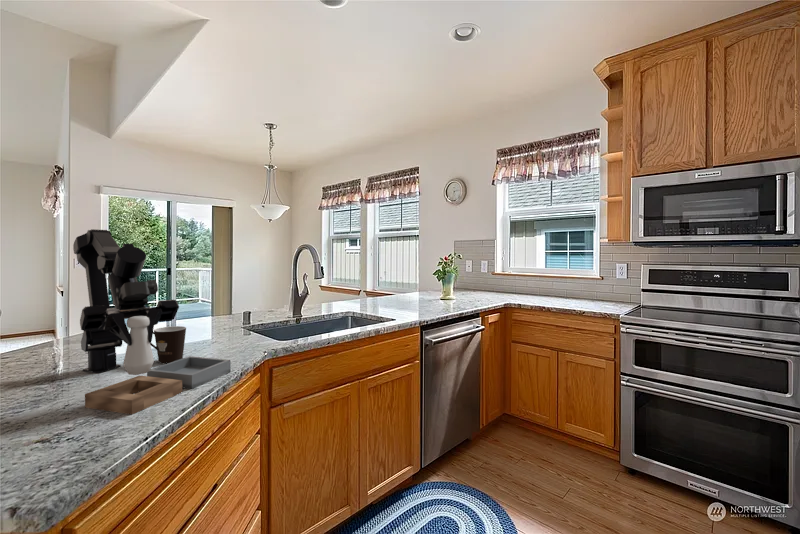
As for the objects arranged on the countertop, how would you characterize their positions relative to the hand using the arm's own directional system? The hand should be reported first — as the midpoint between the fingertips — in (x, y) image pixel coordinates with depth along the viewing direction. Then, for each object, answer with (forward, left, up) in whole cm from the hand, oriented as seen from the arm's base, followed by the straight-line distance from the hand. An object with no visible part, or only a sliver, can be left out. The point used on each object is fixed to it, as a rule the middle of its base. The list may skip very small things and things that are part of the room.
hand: (140, 342), depth 86 cm
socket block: (-1, 0, -13) cm, 13 cm away
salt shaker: (-1, +1, -7) cm, 7 cm away
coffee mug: (-21, +28, -13) cm, 38 cm away
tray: (-1, +16, -13) cm, 21 cm away
